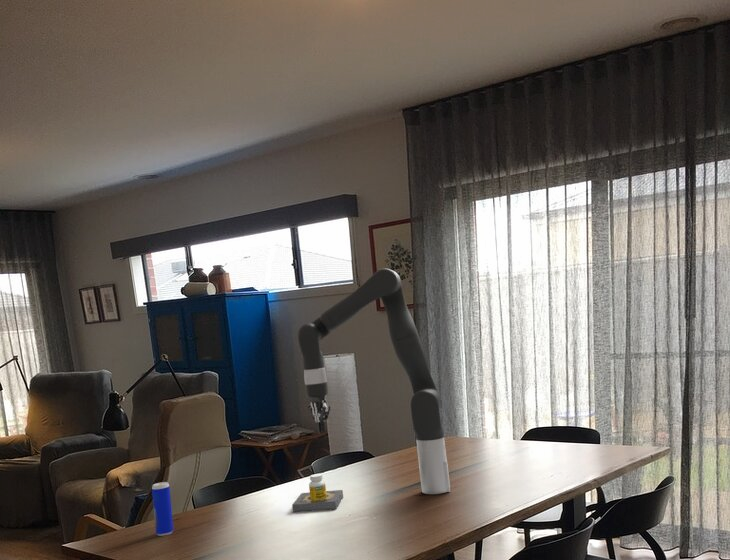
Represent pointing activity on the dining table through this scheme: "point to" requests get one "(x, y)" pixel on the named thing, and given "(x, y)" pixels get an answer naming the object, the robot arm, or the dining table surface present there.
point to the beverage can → (162, 508)
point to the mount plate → (317, 502)
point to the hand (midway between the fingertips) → (321, 432)
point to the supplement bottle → (317, 487)
